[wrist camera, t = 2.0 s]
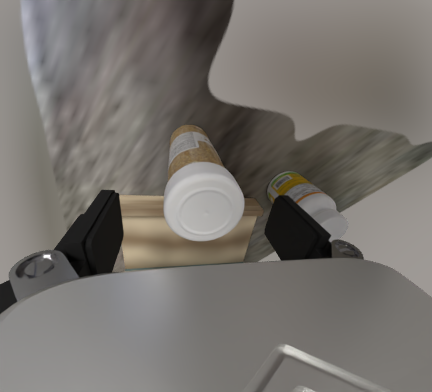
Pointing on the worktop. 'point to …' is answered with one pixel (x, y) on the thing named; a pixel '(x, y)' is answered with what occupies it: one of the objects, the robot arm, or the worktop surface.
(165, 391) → the robot arm
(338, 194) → the worktop surface
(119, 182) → the worktop surface
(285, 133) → the worktop surface
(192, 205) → the sprinkles bottle
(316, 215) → the supplement bottle
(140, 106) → the worktop surface
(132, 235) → the shelf board
